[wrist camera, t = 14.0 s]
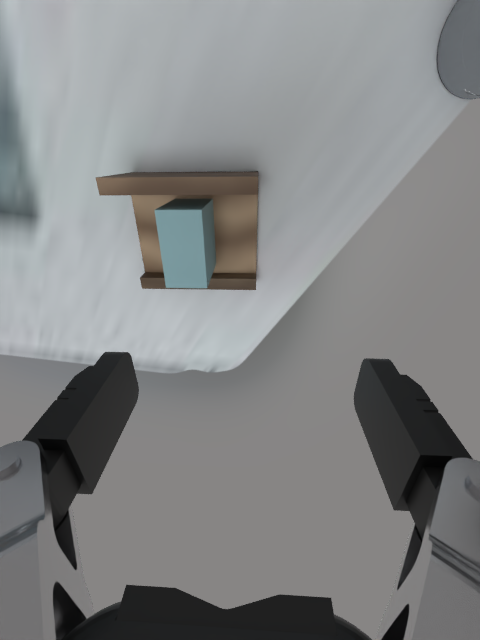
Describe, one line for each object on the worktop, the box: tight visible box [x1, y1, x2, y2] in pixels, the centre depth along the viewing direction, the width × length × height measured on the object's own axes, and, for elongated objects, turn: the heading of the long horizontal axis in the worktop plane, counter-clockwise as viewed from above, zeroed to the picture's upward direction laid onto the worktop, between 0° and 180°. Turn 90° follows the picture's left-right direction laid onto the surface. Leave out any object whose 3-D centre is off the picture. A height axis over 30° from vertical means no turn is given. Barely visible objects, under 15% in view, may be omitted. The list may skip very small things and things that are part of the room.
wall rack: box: [96, 171, 258, 290], centre depth 34 cm, size 14×15×9 cm
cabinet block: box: [155, 199, 216, 288], centre depth 33 cm, size 8×4×8 cm, turn 1°
